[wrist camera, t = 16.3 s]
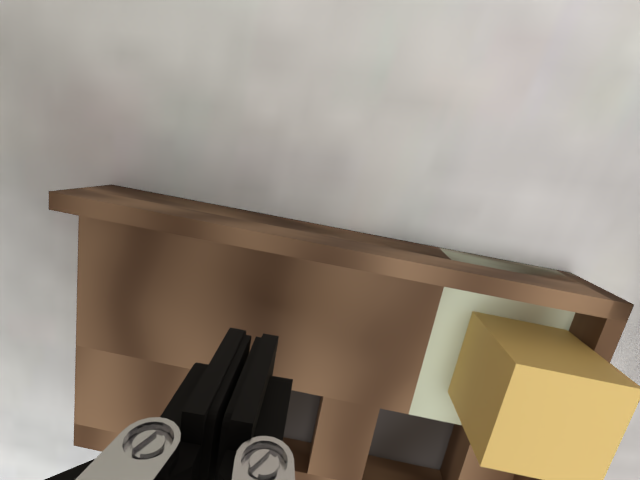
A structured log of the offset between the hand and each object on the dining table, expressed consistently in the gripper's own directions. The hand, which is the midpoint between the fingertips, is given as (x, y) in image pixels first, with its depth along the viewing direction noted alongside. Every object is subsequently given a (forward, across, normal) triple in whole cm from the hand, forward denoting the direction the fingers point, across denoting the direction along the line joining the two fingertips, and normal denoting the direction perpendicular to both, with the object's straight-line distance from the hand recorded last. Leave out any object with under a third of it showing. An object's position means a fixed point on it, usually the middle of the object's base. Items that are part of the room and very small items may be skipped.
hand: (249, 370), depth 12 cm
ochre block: (+5, -12, +1) cm, 13 cm away
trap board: (+8, -2, +4) cm, 9 cm away
